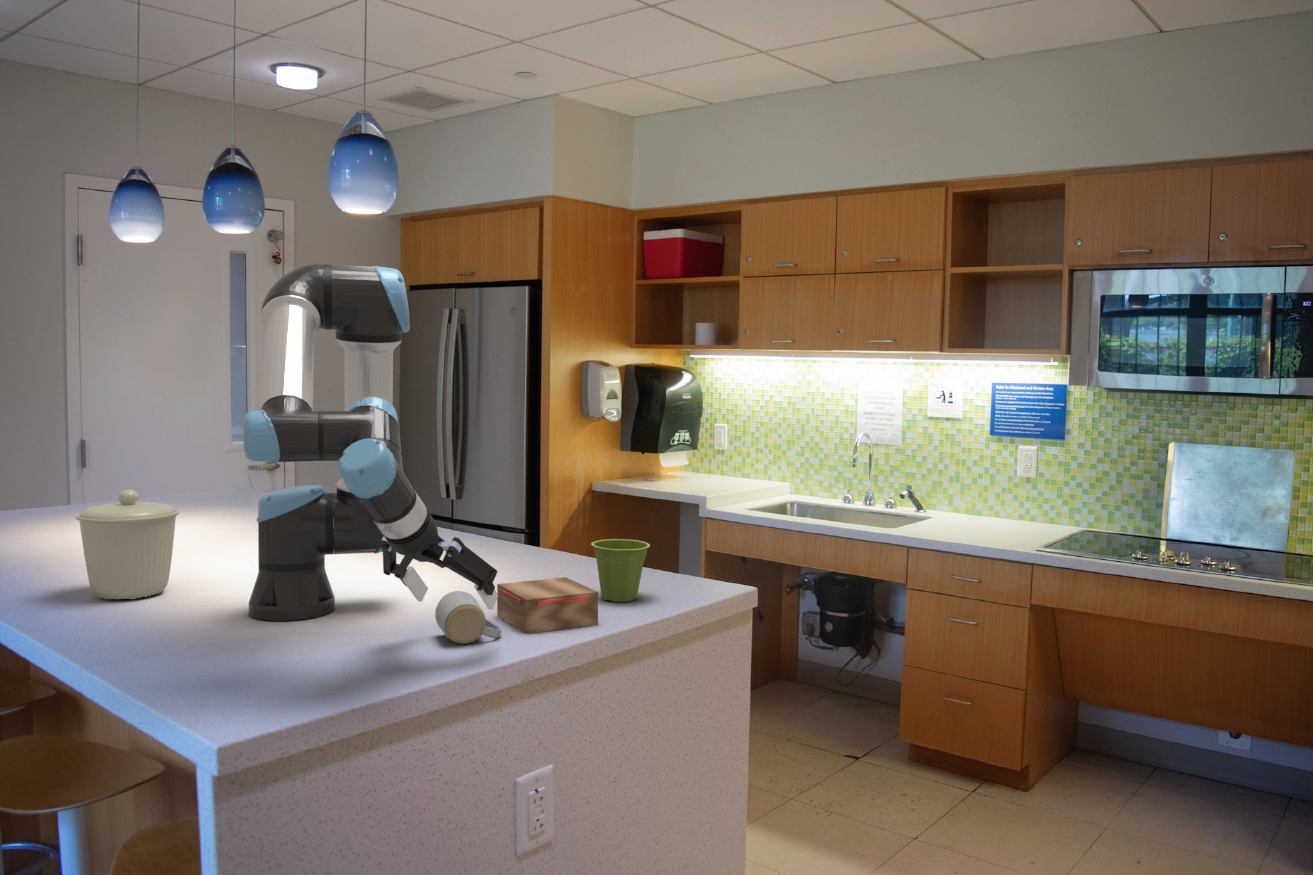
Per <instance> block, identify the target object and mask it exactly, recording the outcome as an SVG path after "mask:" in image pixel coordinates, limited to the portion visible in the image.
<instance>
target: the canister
mask: <svg viewBox="0 0 1313 875" xmlns="http://www.w3.org/2000/svg"><path fill="white" fill-rule="evenodd" d="M117 499H118V502H113V503H112V502H111V503H104V504H98V505H93V506H90V507H87V508H84V509H83V510H82V511H81V512H79V513H76V515H75V519H76V520H77V521H79V528H80V534H81V540H82V548H83V555H84V562H85V567H86V572H87V579H88V584H89V587H90V589H91V592H92V593H93V595H95V596H96V597H97V598H99V597H101V598H100V599H102V598H106V599H105V600H108V599H130V600H133V599H132V598H139V599H142V598H141V597H145V598H148V597H147V596H149V597H152V596H151V595H153V596H156V595H158V594H161V593H162V592H163V591H164V590H165V589H166V587H167V586H168V583H169V579H170V574H171V566H172V557H173V549H174V540H175V539H174V537H175V529H176V518H177V516H178V515H179V514H180V510H179V509H177V508H174V506H172V505H170V504H168V503H162V502H154V501H138V500H139V494H138V492H137V491H136V490H135V489H123V490H121V491H120V492H119V493H118V495H117ZM155 594H156V595H155Z"/></svg>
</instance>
